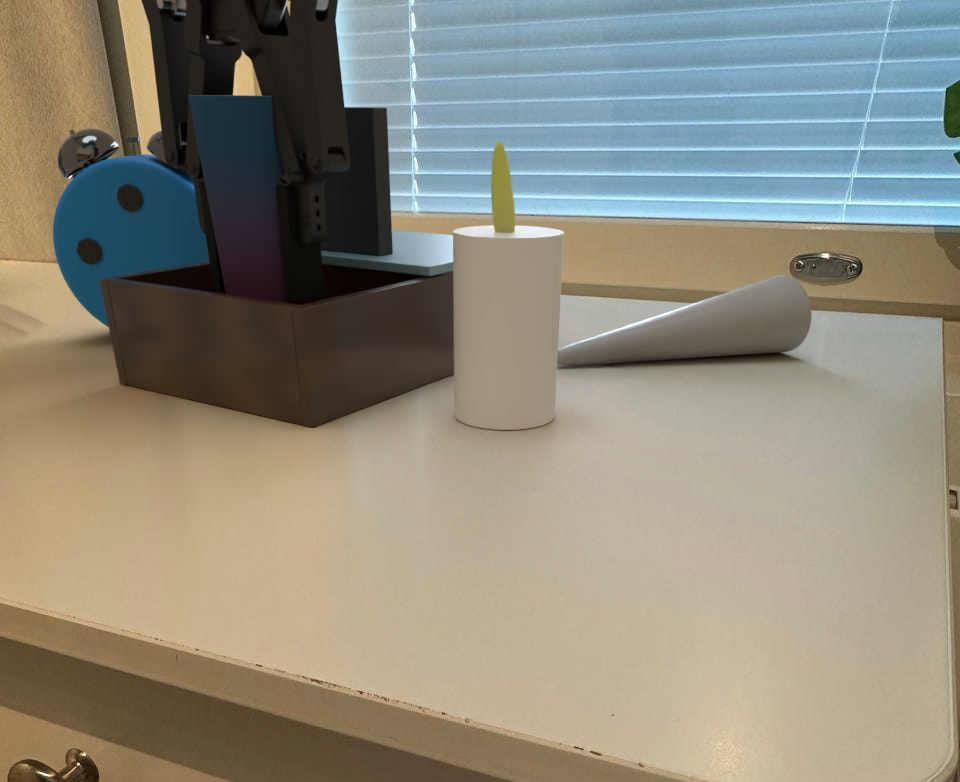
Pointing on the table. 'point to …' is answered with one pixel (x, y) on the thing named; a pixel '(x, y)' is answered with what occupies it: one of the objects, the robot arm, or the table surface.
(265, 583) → the table surface
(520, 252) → the candle
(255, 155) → the cup
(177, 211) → the alarm clock
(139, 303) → the display box
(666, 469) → the table surface
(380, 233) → the upright panel on base
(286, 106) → the robot arm
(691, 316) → the long tapered cone
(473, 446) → the table surface
